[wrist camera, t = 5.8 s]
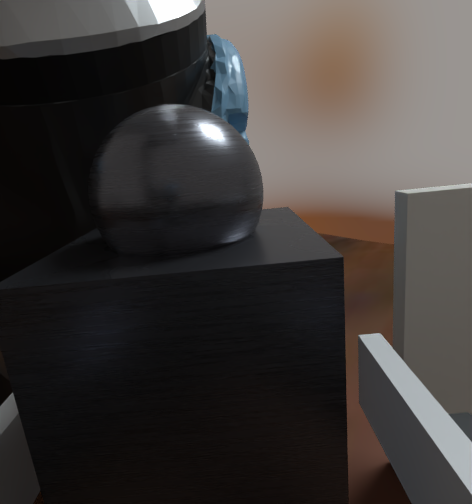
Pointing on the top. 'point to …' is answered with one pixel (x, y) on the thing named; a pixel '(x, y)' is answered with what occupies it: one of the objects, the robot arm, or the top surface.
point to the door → (435, 290)
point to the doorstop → (181, 333)
